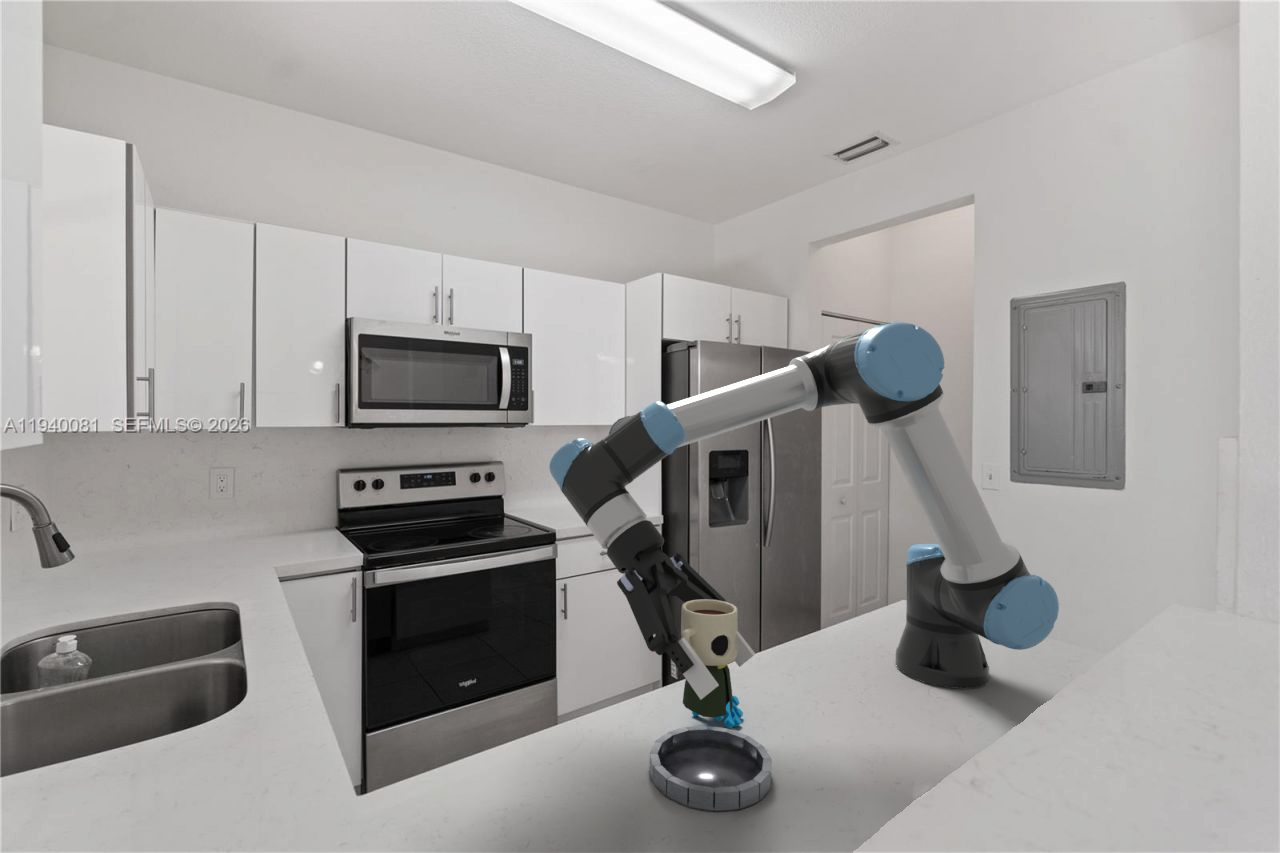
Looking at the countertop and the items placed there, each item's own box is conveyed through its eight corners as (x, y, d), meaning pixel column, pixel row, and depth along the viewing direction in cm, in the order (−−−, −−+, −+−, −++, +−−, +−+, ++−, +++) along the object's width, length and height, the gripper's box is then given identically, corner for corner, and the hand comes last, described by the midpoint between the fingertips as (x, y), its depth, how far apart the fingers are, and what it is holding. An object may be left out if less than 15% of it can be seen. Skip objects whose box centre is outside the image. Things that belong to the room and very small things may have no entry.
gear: (733, 732, 82) (689, 668, 86) (702, 756, 83) (660, 692, 87) (755, 710, 92) (715, 654, 96) (727, 731, 93) (689, 675, 97)
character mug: (705, 736, 68) (707, 623, 68) (658, 715, 73) (660, 610, 73) (754, 704, 76) (756, 603, 76) (709, 687, 81) (711, 592, 81)
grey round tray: (748, 739, 83) (748, 723, 83) (789, 806, 68) (790, 787, 68) (642, 745, 81) (642, 729, 81) (661, 816, 66) (661, 797, 66)
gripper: (653, 539, 93) (745, 661, 84) (556, 567, 73) (664, 730, 65) (684, 508, 90) (782, 631, 82) (592, 529, 70) (709, 694, 62)
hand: (730, 675), depth 73 cm, fingers closed on character mug, 11 cm apart
